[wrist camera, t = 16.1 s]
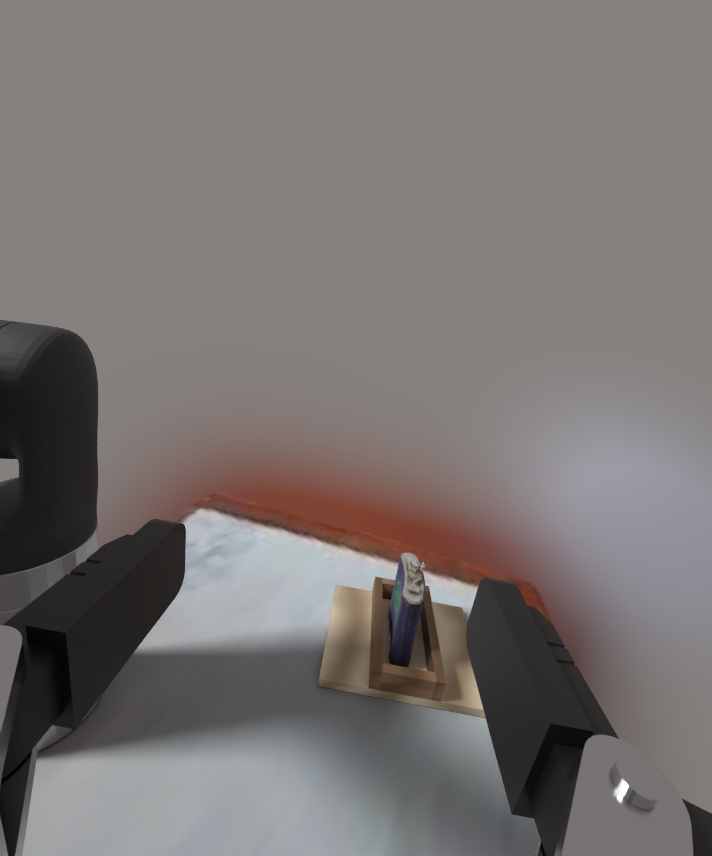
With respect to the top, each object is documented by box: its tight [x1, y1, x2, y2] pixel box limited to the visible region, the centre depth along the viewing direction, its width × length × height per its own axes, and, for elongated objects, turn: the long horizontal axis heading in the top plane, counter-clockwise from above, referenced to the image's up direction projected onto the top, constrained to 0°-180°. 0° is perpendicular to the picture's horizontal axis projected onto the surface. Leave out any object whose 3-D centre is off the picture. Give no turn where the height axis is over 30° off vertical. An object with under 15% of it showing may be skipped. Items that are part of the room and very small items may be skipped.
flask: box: [388, 553, 426, 668], centre depth 42 cm, size 9×3×11 cm, turn 175°
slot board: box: [318, 577, 486, 718], centre depth 43 cm, size 18×14×4 cm
